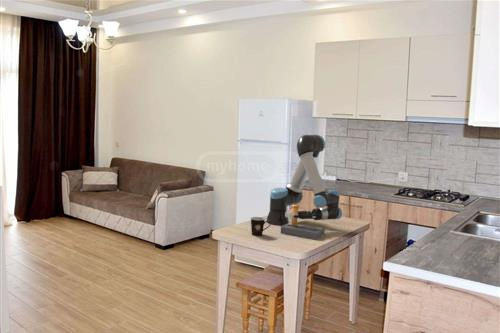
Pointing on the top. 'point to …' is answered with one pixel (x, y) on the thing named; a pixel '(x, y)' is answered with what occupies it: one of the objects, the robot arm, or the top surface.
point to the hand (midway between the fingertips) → (287, 215)
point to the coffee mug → (257, 225)
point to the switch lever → (294, 211)
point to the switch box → (303, 231)
